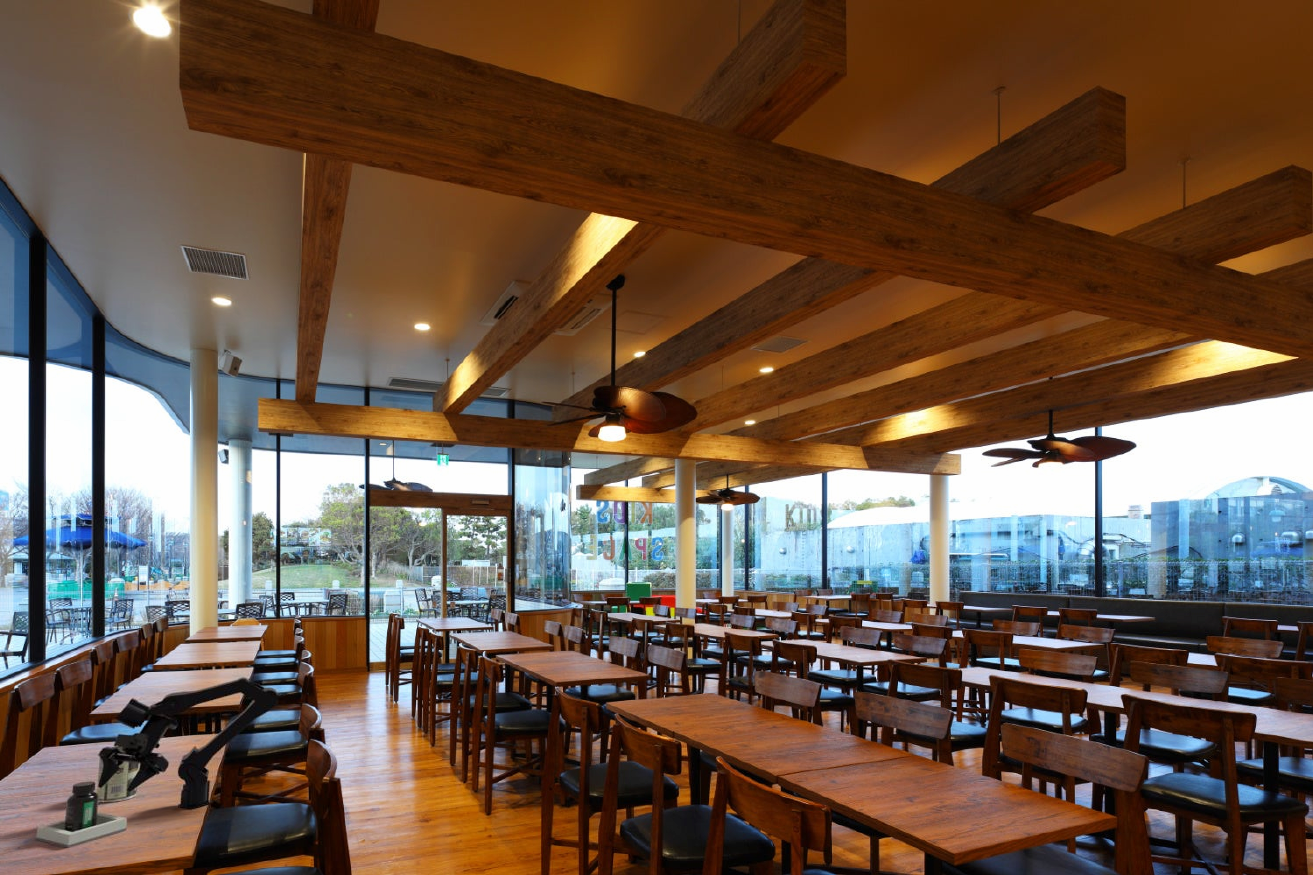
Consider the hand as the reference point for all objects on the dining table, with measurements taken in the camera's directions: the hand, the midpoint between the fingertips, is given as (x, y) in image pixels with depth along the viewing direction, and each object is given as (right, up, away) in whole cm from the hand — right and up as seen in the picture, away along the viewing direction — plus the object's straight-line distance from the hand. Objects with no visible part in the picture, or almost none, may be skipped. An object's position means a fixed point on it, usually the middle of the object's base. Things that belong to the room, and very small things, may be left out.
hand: (113, 789), depth 219 cm
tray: (-2, -8, -9) cm, 12 cm away
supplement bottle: (-3, -7, -9) cm, 12 cm away
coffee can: (-15, -13, +23) cm, 31 cm away
